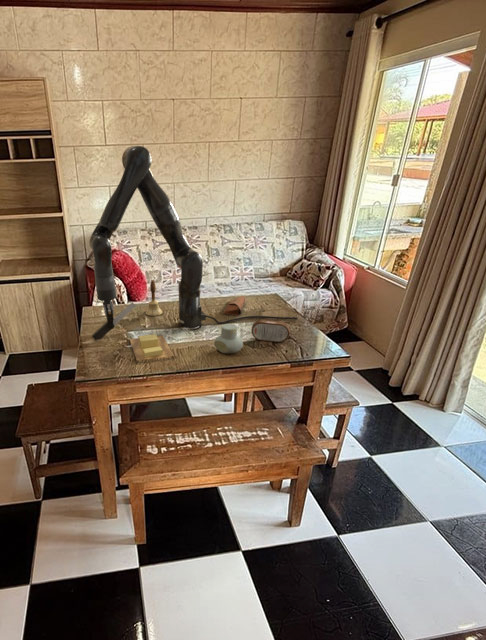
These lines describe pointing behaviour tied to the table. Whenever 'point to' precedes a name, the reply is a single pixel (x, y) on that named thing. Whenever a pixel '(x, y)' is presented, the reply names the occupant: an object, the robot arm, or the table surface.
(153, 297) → the hand bell
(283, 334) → the tin
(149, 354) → the butter slice
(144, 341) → the butter
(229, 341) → the air freshener
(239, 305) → the sunglasses case
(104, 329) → the knife
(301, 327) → the table surface
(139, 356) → the board
